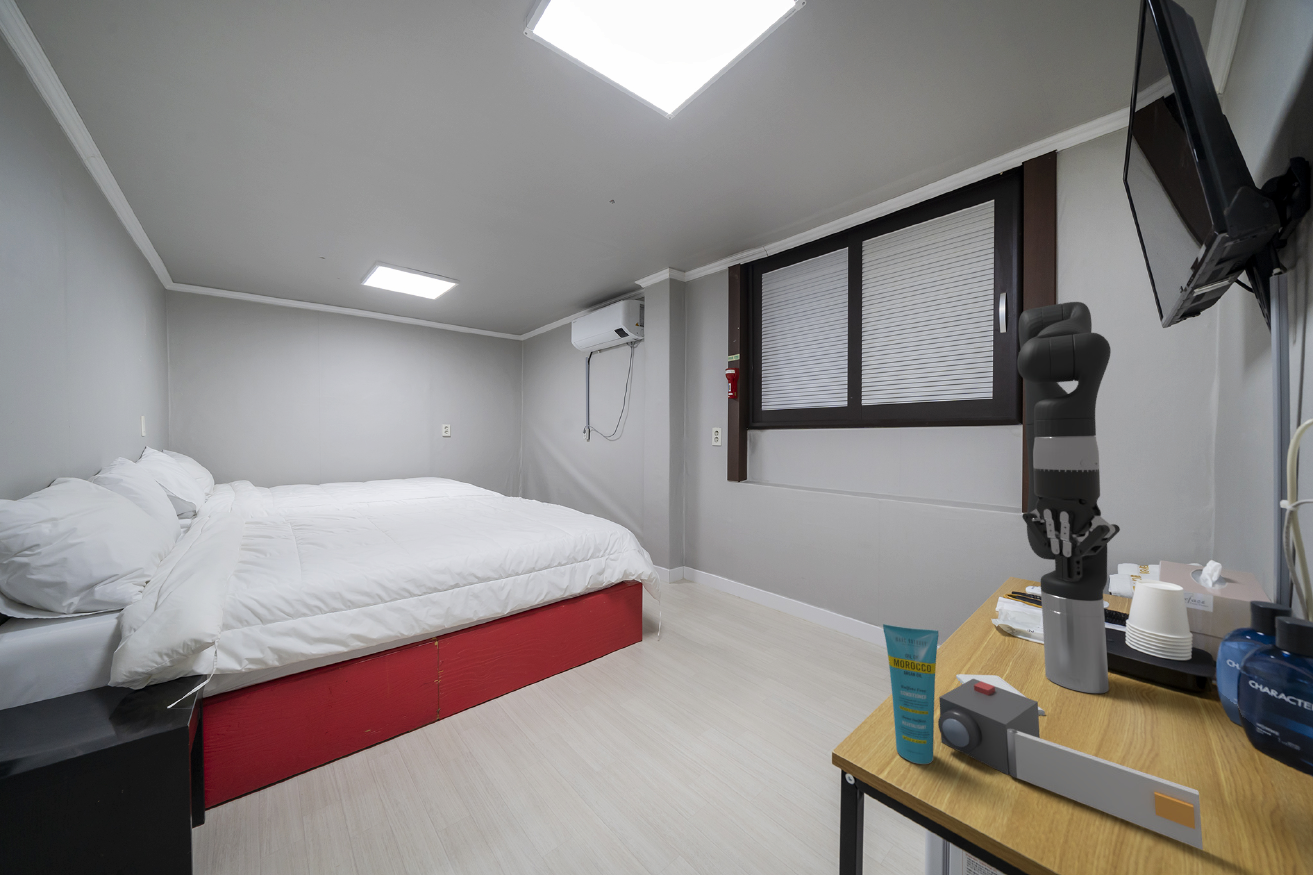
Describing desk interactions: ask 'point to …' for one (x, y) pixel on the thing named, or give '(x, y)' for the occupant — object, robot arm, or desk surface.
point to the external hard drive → (995, 682)
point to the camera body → (985, 721)
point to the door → (1107, 787)
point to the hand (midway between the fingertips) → (1068, 579)
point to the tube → (913, 689)
